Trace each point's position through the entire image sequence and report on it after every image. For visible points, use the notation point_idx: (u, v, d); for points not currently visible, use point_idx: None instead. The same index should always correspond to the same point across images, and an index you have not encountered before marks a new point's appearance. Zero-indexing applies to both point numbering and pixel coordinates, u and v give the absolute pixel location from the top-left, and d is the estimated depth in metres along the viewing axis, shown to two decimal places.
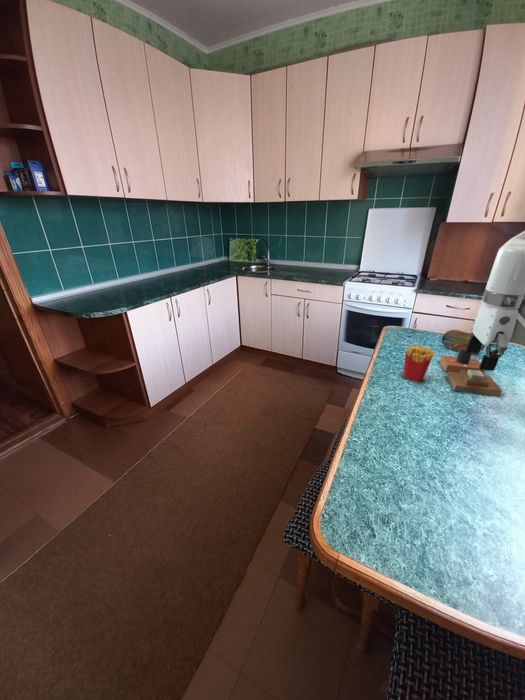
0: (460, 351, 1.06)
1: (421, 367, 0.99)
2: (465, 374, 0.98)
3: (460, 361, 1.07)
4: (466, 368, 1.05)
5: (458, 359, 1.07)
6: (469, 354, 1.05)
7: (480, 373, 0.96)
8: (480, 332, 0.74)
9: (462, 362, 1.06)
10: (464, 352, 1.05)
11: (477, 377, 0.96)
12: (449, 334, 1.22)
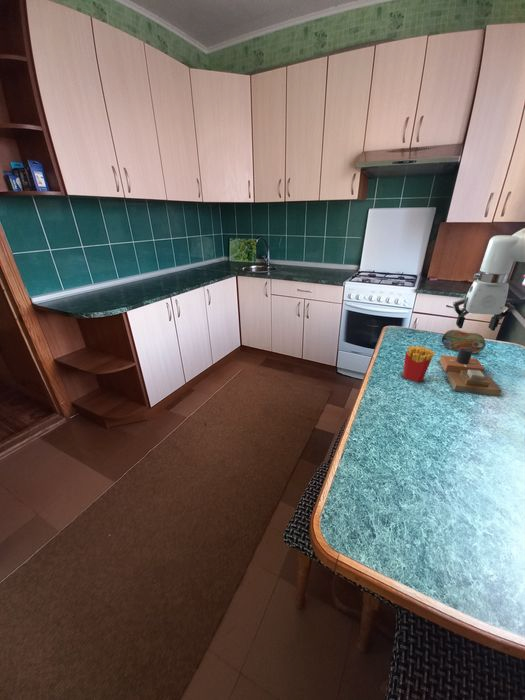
0: (460, 351, 1.06)
1: (421, 367, 0.99)
2: (465, 374, 0.98)
3: (460, 361, 1.07)
4: (466, 368, 1.05)
5: (458, 359, 1.07)
6: (469, 354, 1.05)
7: (480, 373, 0.96)
8: None
9: (462, 362, 1.06)
10: (464, 352, 1.05)
11: (477, 377, 0.96)
12: (449, 334, 1.22)
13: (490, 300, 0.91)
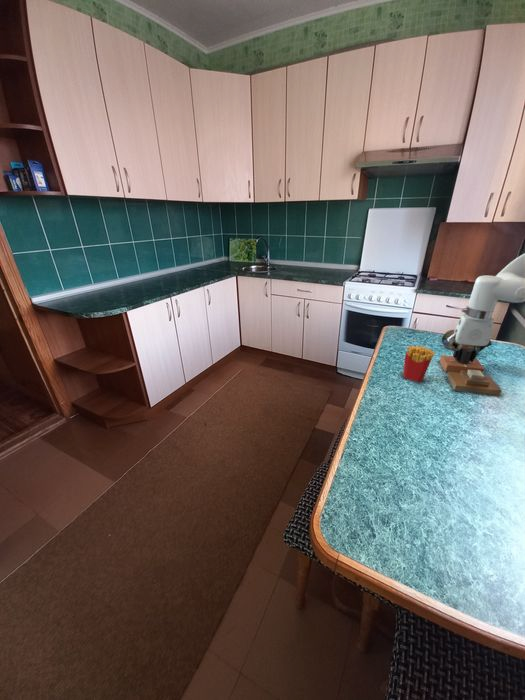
0: None
1: (421, 367, 0.99)
2: (465, 374, 0.98)
3: (460, 361, 1.07)
4: (466, 368, 1.05)
5: None
6: (469, 354, 1.05)
7: (480, 373, 0.96)
8: None
9: (462, 362, 1.06)
10: (464, 352, 1.05)
11: (477, 377, 0.96)
12: (449, 334, 1.22)
13: (477, 333, 1.00)
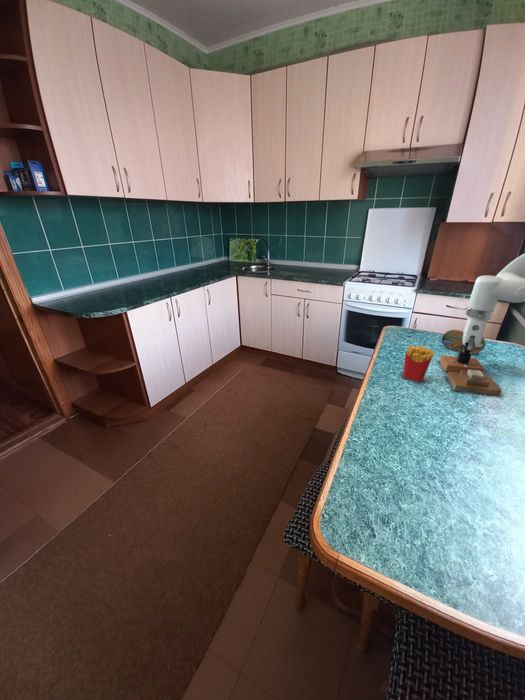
0: None
1: (421, 367, 0.99)
2: (465, 374, 0.98)
3: None
4: (466, 368, 1.05)
5: None
6: None
7: (480, 373, 0.96)
8: (463, 335, 1.04)
9: None
10: None
11: (477, 377, 0.96)
12: (449, 334, 1.22)
13: None
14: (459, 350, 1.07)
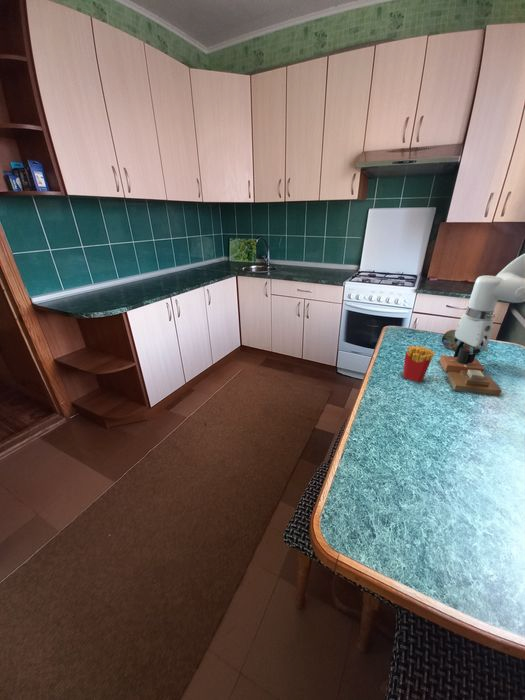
0: None
1: (421, 367, 0.99)
2: (465, 374, 0.98)
3: None
4: (466, 368, 1.05)
5: None
6: None
7: (480, 373, 0.96)
8: (467, 337, 1.02)
9: None
10: None
11: (477, 377, 0.96)
12: (449, 334, 1.22)
13: None
14: (462, 352, 1.05)
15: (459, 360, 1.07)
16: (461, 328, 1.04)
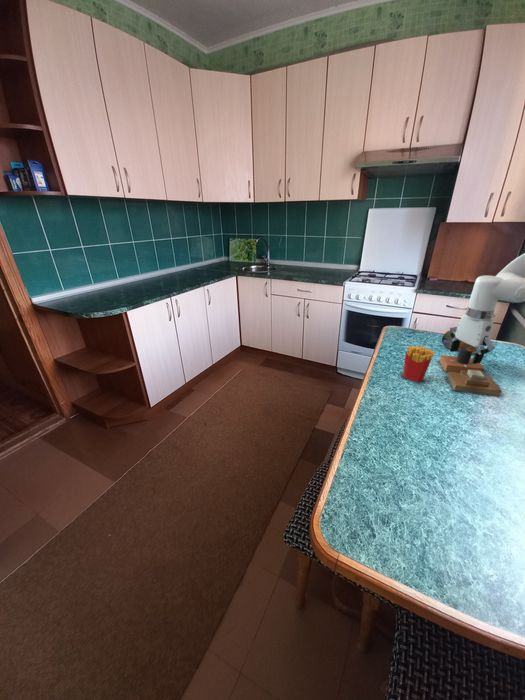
0: (471, 353, 1.05)
1: (421, 367, 0.99)
2: (465, 374, 0.98)
3: (469, 360, 1.07)
4: (466, 368, 1.05)
5: (469, 360, 1.06)
6: None
7: (480, 373, 0.96)
8: (468, 337, 1.02)
9: None
10: None
11: (477, 377, 0.96)
12: (449, 334, 1.22)
13: None
14: (462, 352, 1.05)
15: (459, 360, 1.07)
16: (461, 328, 1.04)
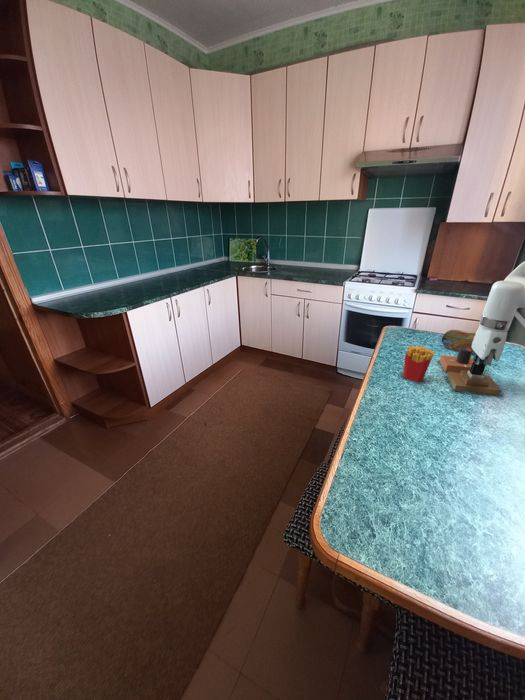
0: (471, 353, 1.05)
1: (421, 367, 0.99)
2: (465, 374, 0.98)
3: (469, 360, 1.07)
4: (466, 368, 1.05)
5: (469, 360, 1.06)
6: None
7: None
8: (478, 348, 0.92)
9: None
10: None
11: (477, 378, 0.96)
12: (449, 334, 1.22)
13: None
14: (462, 352, 1.05)
15: (459, 360, 1.07)
16: (476, 337, 0.94)
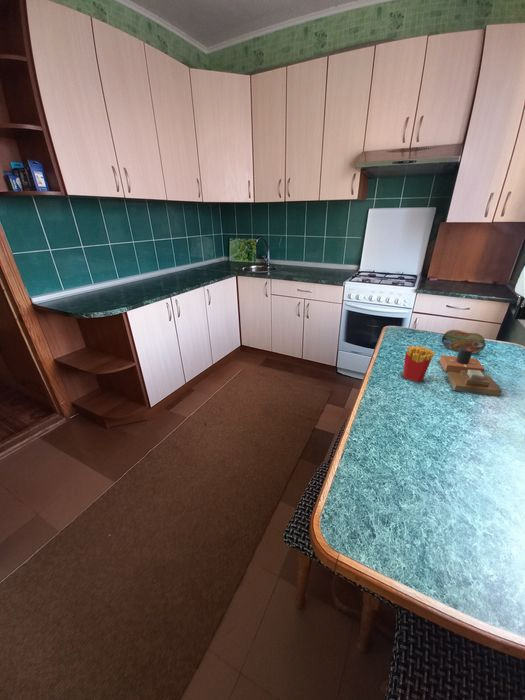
0: (471, 353, 1.05)
1: (421, 367, 0.99)
2: (465, 374, 0.98)
3: (469, 360, 1.07)
4: (466, 368, 1.05)
5: (469, 360, 1.06)
6: None
7: (480, 373, 0.96)
8: (524, 289, 0.87)
9: None
10: None
11: (477, 377, 0.96)
12: (449, 334, 1.22)
13: None
14: (462, 352, 1.05)
15: (459, 360, 1.07)
16: (521, 279, 0.89)
